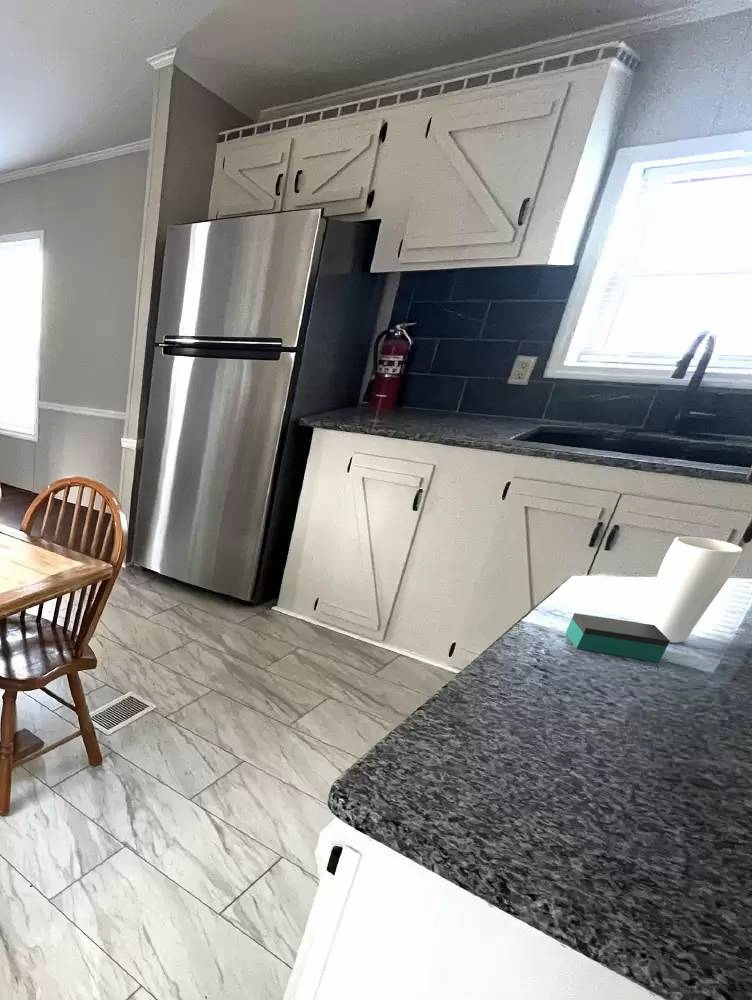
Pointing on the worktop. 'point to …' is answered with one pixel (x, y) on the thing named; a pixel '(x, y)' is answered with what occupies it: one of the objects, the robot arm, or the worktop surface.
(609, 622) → the sponge
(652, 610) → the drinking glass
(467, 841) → the worktop surface
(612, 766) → the worktop surface
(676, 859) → the worktop surface
